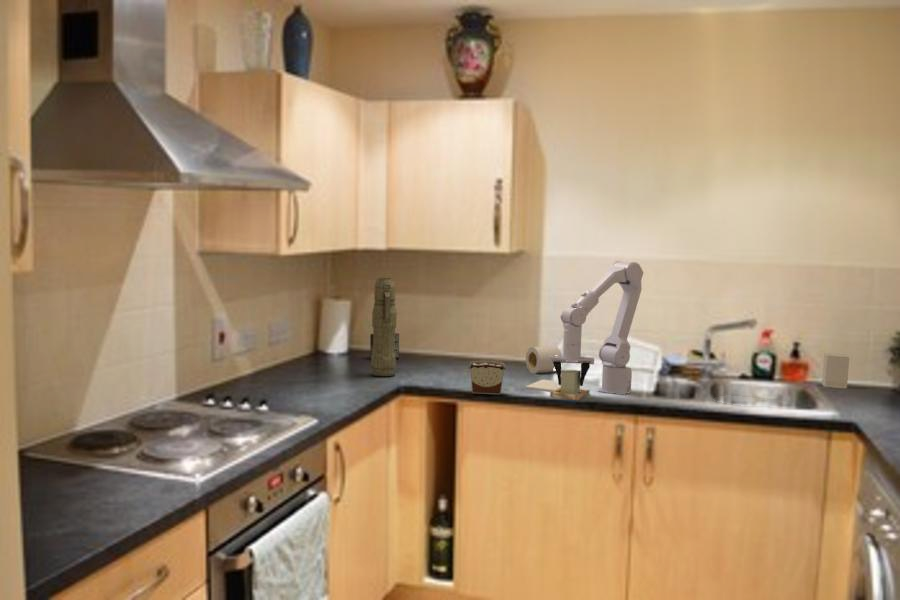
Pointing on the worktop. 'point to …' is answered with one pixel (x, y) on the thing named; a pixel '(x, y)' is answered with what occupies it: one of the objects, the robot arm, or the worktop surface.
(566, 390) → the green block
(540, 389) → the beige mat
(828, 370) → the supplement box
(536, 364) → the toilet paper
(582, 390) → the wooden square frame
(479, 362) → the food container
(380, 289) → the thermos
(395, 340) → the small box
